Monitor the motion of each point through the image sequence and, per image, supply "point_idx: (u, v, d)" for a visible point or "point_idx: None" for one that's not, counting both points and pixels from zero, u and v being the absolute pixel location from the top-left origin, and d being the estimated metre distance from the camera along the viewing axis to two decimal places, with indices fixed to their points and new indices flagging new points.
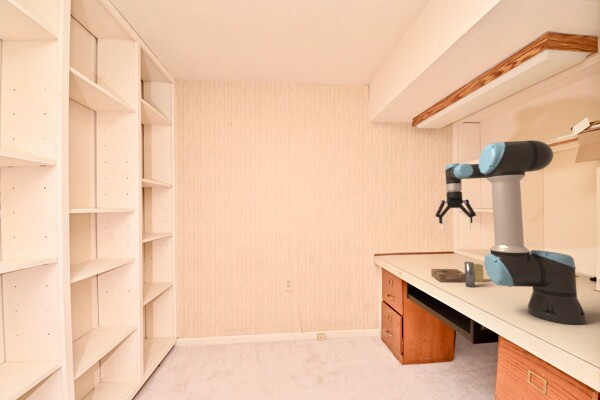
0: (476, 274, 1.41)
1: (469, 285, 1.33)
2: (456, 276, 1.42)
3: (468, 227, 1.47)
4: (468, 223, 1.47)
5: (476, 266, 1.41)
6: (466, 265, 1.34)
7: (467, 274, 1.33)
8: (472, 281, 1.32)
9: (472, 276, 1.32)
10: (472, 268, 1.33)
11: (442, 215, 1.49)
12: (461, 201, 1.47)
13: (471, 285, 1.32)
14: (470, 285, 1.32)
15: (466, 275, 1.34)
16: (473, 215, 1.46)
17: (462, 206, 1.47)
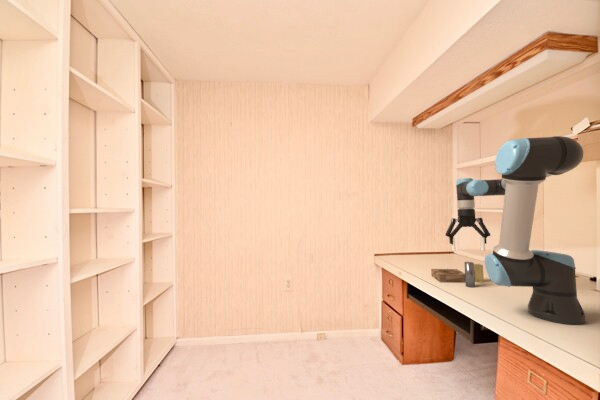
0: (476, 274, 1.41)
1: (469, 285, 1.33)
2: (456, 276, 1.42)
3: (482, 248, 1.34)
4: (482, 244, 1.34)
5: (476, 266, 1.41)
6: (466, 265, 1.34)
7: (467, 274, 1.33)
8: (472, 281, 1.32)
9: (472, 276, 1.32)
10: (472, 268, 1.33)
11: (453, 235, 1.35)
12: (474, 219, 1.34)
13: (471, 285, 1.32)
14: (470, 285, 1.32)
15: (466, 275, 1.34)
16: (487, 235, 1.33)
17: (475, 225, 1.33)
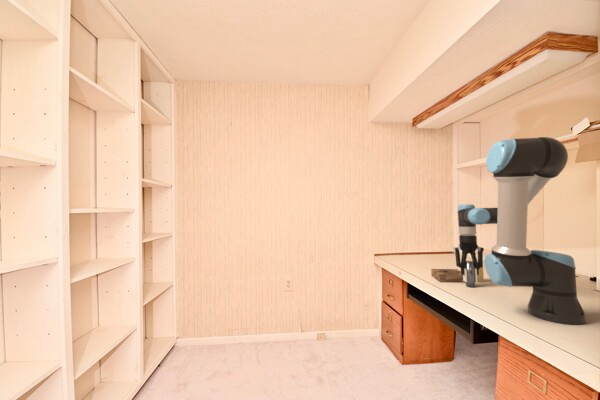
0: None
1: (469, 284, 1.32)
2: (456, 276, 1.42)
3: None
4: None
5: None
6: (466, 264, 1.34)
7: (468, 273, 1.33)
8: (472, 280, 1.32)
9: (472, 275, 1.32)
10: (472, 267, 1.32)
11: (463, 265, 1.34)
12: (476, 246, 1.33)
13: (471, 284, 1.32)
14: (470, 284, 1.32)
15: None
16: (479, 266, 1.33)
17: (474, 253, 1.33)
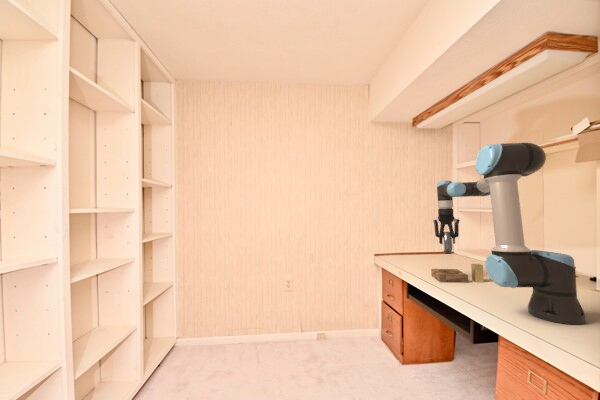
0: (476, 274, 1.41)
1: (446, 252, 1.48)
2: (456, 276, 1.42)
3: (451, 248, 1.49)
4: (451, 244, 1.49)
5: (476, 266, 1.41)
6: (444, 234, 1.49)
7: (445, 242, 1.48)
8: (449, 248, 1.47)
9: (449, 244, 1.48)
10: (449, 236, 1.48)
11: (441, 235, 1.49)
12: (452, 218, 1.48)
13: (448, 252, 1.47)
14: (447, 252, 1.48)
15: (444, 243, 1.49)
16: (456, 236, 1.48)
17: (451, 224, 1.48)
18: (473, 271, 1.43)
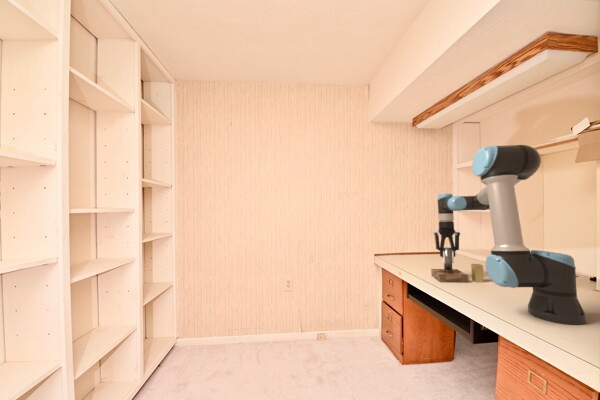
0: (476, 274, 1.41)
1: (447, 268, 1.48)
2: (456, 276, 1.42)
3: None
4: None
5: (476, 266, 1.41)
6: (444, 250, 1.49)
7: (446, 258, 1.48)
8: (450, 264, 1.47)
9: (450, 260, 1.47)
10: (450, 253, 1.47)
11: (442, 248, 1.49)
12: (453, 231, 1.48)
13: (449, 268, 1.47)
14: (448, 268, 1.47)
15: None
16: (456, 249, 1.48)
17: (451, 237, 1.48)
18: (473, 271, 1.43)
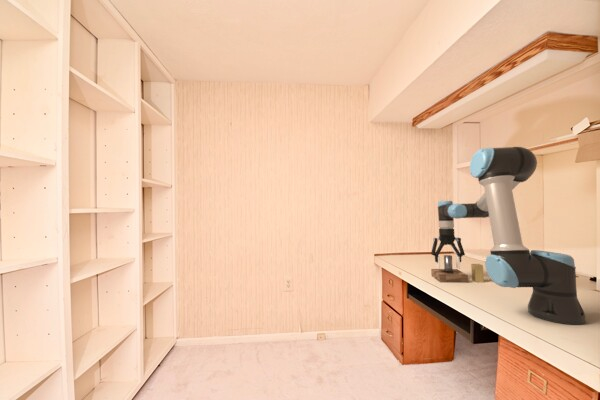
0: (476, 274, 1.41)
1: None
2: (456, 276, 1.42)
3: (457, 266, 1.48)
4: (457, 262, 1.48)
5: (476, 266, 1.41)
6: (445, 258, 1.48)
7: (446, 266, 1.48)
8: (450, 272, 1.47)
9: (450, 268, 1.47)
10: (450, 261, 1.47)
11: (437, 254, 1.49)
12: (453, 238, 1.48)
13: None
14: None
15: (445, 267, 1.49)
16: (462, 254, 1.47)
17: (453, 244, 1.47)
18: (473, 271, 1.43)
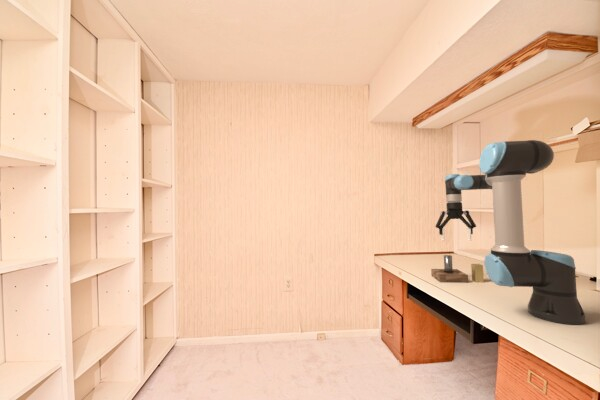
0: (476, 274, 1.41)
1: None
2: (456, 276, 1.42)
3: (468, 238, 1.46)
4: (468, 234, 1.46)
5: (476, 266, 1.41)
6: (445, 258, 1.48)
7: (446, 266, 1.48)
8: (450, 272, 1.47)
9: (450, 268, 1.47)
10: (450, 261, 1.47)
11: (442, 226, 1.47)
12: (461, 212, 1.46)
13: None
14: None
15: (445, 267, 1.49)
16: (473, 226, 1.45)
17: (462, 217, 1.45)
18: (473, 271, 1.43)
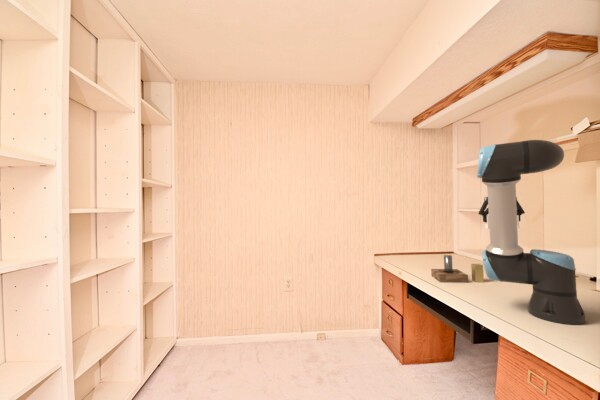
0: (476, 274, 1.41)
1: None
2: (456, 276, 1.42)
3: None
4: None
5: (476, 266, 1.41)
6: (445, 258, 1.48)
7: (446, 266, 1.48)
8: (450, 272, 1.47)
9: (450, 268, 1.47)
10: (450, 261, 1.47)
11: (487, 213, 1.36)
12: None
13: None
14: None
15: (445, 267, 1.49)
16: None
17: None
18: (473, 271, 1.43)
